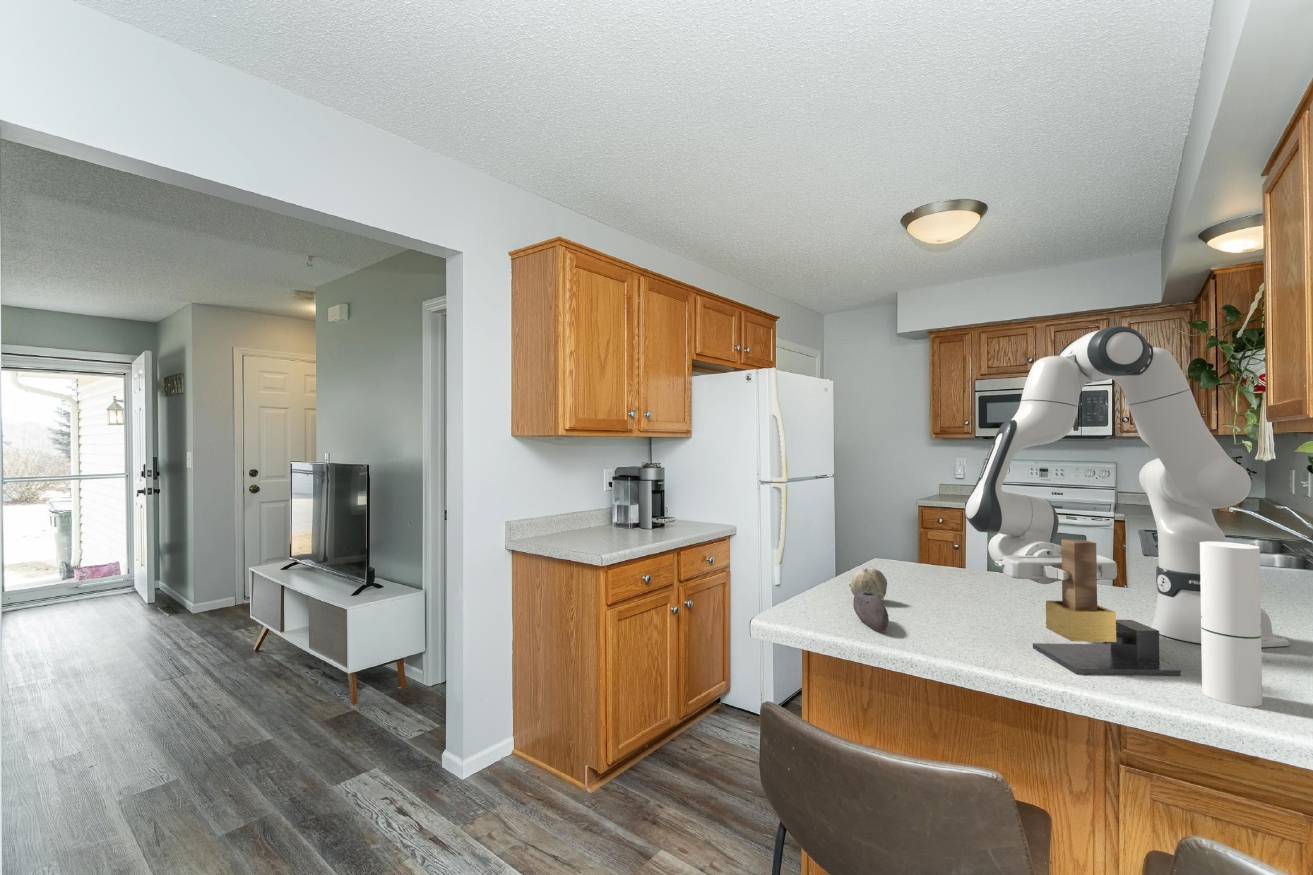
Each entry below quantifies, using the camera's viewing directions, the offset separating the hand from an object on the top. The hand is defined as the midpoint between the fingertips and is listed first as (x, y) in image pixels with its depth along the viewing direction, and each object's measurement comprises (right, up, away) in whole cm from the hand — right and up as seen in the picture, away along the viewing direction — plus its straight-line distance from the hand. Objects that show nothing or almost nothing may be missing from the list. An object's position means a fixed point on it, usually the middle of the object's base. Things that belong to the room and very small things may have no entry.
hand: (1082, 576), depth 115 cm
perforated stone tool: (-32, -17, +24) cm, 43 cm away
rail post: (0, -10, +1) cm, 10 cm away
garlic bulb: (-25, -17, +45) cm, 55 cm away
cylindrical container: (+13, -16, -16) cm, 27 cm away
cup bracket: (+4, -16, 0) cm, 17 cm away
